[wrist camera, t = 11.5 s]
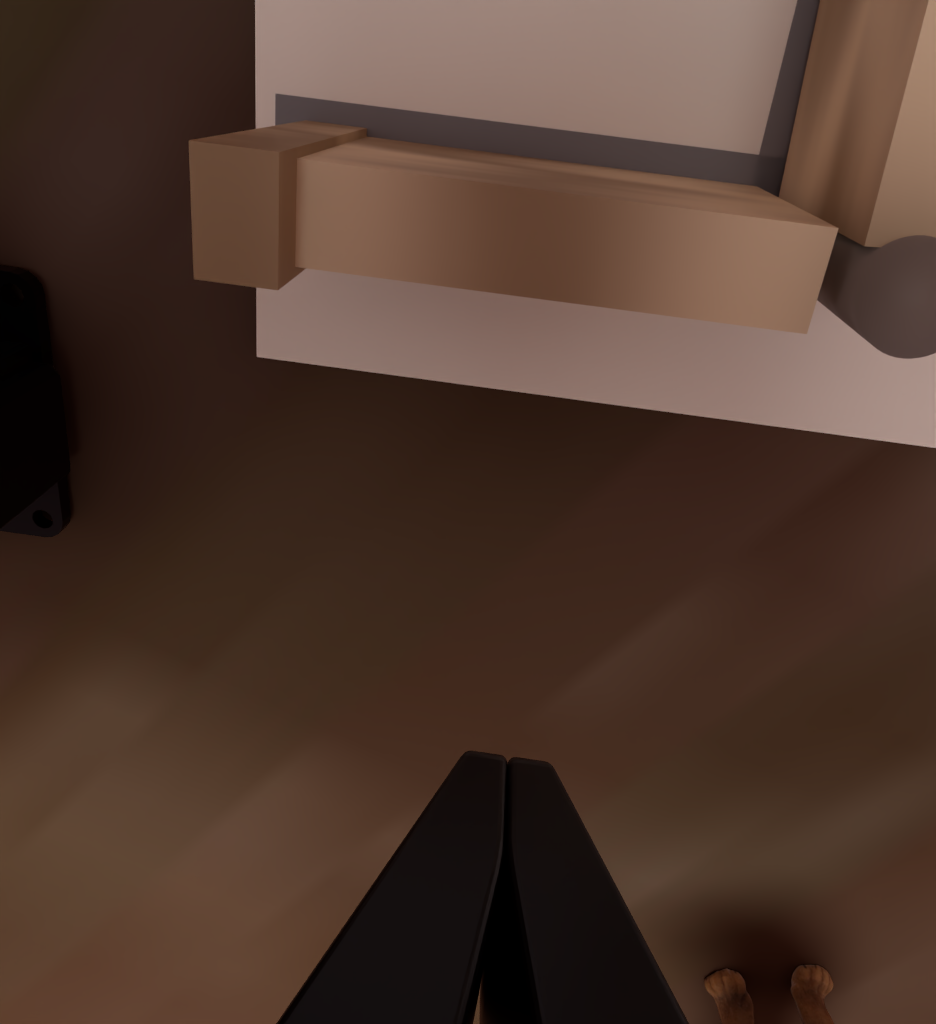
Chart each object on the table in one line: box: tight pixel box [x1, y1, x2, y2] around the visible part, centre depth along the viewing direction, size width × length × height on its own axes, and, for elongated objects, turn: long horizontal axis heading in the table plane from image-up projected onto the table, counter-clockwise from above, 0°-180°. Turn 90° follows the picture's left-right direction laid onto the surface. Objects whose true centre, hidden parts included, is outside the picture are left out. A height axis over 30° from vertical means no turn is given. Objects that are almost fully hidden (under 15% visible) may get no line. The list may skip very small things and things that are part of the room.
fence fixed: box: [189, 120, 839, 334], centre depth 14 cm, size 9×2×6 cm, turn 84°
